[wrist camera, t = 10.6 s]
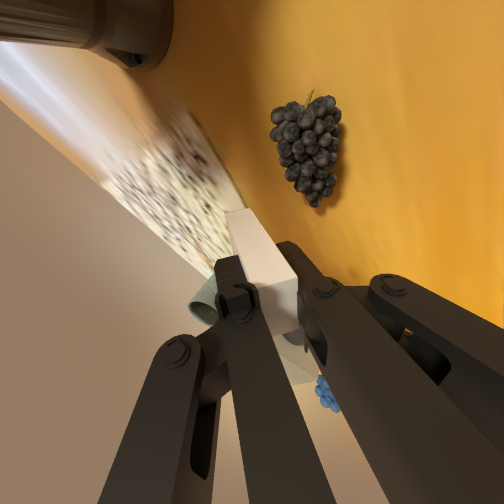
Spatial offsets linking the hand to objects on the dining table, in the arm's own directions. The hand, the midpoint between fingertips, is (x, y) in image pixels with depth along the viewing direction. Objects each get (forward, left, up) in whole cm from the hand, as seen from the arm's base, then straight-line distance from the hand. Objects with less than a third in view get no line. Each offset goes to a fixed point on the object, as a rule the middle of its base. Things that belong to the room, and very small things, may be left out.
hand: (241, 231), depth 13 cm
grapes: (+44, -45, -25) cm, 67 cm away
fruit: (+1, -1, -25) cm, 25 cm away
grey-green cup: (+3, -39, -25) cm, 46 cm away
